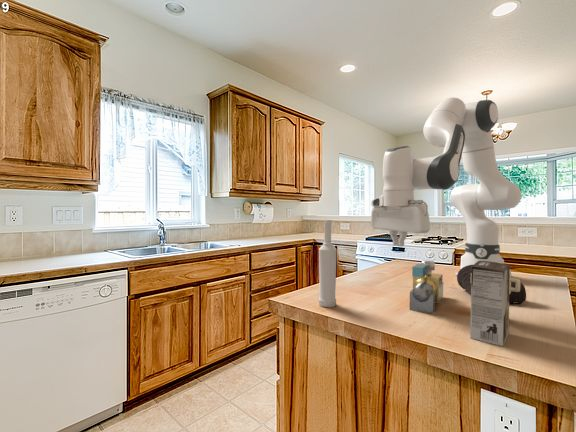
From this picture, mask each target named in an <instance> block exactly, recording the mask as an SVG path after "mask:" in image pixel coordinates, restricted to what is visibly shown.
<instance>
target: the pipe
mask: <svg viewBox="0 0 576 432" xmlns="http://www.w3.org/2000/svg"><path fill="white" fill-rule="evenodd" d="M472 266H473V265H468V266H465V267H463V268H462V269H461V268H460V269H459V272H458V271H457V272H458V275H456V281H457V284H458V286H460V288H462V289H463V290H465V291H466V292H467V293H468V294H469V295H470V296H471V271H472ZM515 286H516V283H515V282H511V287H513V288H515ZM525 301H527V291H526V288H525V286H524V284H523V283H522V282H521V281H520V292H514V291H511V293H510V295H509V304H521V303H525Z"/></svg>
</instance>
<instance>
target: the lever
mask: <svg viewBox="0 0 576 432" xmlns="http://www.w3.org/2000/svg"><path fill="white" fill-rule="evenodd" d="M435 262H436V261H433V260H423V259H422V260H421V263H417V264H415V265H413V266H412V271H411V272H412V274H411V275H412V276H411V277H413V276H414V277H422V278H423V277H424V276H425V275H427V272H428V271H432V272H433V271H435V269H436V268H435V266H436V263H435Z"/></svg>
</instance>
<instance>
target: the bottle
mask: <svg viewBox="0 0 576 432" xmlns="http://www.w3.org/2000/svg"><path fill="white" fill-rule="evenodd" d="M323 222H324V223H323V225H324V237H323V239H324V241H323V243H322V245H321V246H320V247H319V248H318V274H319V276H318V281H319V283H318V285H319V289H318V291H319V293H318V294H319V298H318V304H319V306H320V307H323V308H334V307H336V305H337V298H336V284H337V283H336V282H337V281H336V280H337V278H336V277H337V252H338V251H337V249H338V248H336V247H335V246H334V245H333V243H332V220H331V219H325V220H324V221H323Z"/></svg>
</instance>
